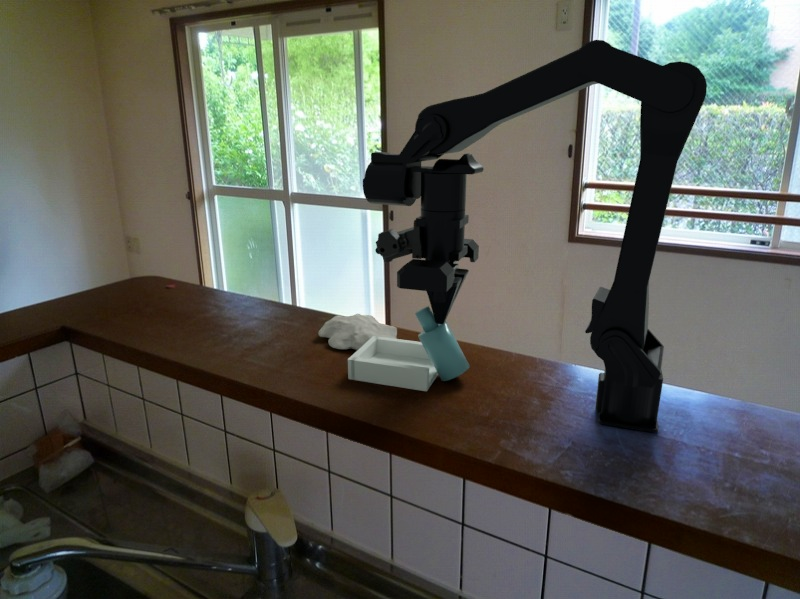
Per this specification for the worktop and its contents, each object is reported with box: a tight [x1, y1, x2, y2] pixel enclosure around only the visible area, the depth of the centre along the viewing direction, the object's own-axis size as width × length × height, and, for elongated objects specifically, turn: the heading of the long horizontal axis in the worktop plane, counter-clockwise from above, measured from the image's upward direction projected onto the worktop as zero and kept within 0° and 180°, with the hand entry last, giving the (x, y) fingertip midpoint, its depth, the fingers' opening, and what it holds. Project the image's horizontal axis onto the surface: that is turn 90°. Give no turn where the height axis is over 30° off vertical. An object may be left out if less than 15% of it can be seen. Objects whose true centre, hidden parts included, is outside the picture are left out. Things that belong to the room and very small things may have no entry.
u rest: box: [347, 336, 439, 392], centre depth 80 cm, size 12×9×3 cm
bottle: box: [414, 305, 471, 382], centre depth 76 cm, size 4×4×10 cm
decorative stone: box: [318, 313, 398, 351], centre depth 91 cm, size 11×4×15 cm
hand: (440, 323), depth 76 cm, fingers closed
